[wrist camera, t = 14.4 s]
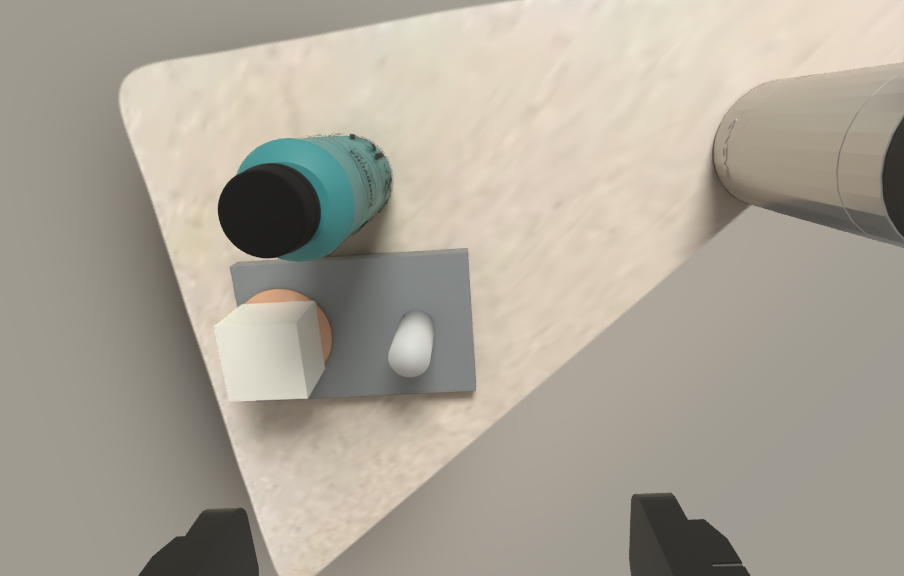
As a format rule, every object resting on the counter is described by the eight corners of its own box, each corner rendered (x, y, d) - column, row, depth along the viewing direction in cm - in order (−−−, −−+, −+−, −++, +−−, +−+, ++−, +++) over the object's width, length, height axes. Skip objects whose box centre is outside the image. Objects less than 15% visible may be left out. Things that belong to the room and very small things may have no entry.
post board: (467, 248, 43) (467, 273, 36) (475, 382, 47) (477, 429, 39) (237, 262, 44) (192, 289, 37) (262, 392, 48) (225, 440, 40)
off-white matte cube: (315, 300, 43) (296, 322, 38) (325, 368, 44) (307, 398, 40) (241, 304, 43) (213, 326, 38) (254, 371, 45) (228, 401, 40)
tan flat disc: (325, 285, 43) (324, 287, 42) (338, 376, 45) (337, 378, 45) (228, 291, 43) (225, 293, 43) (246, 380, 46) (243, 383, 45)
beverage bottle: (349, 233, 43) (253, 320, 24) (296, 163, 42) (150, 197, 22) (414, 186, 42) (369, 239, 23) (363, 113, 40) (268, 103, 21)
